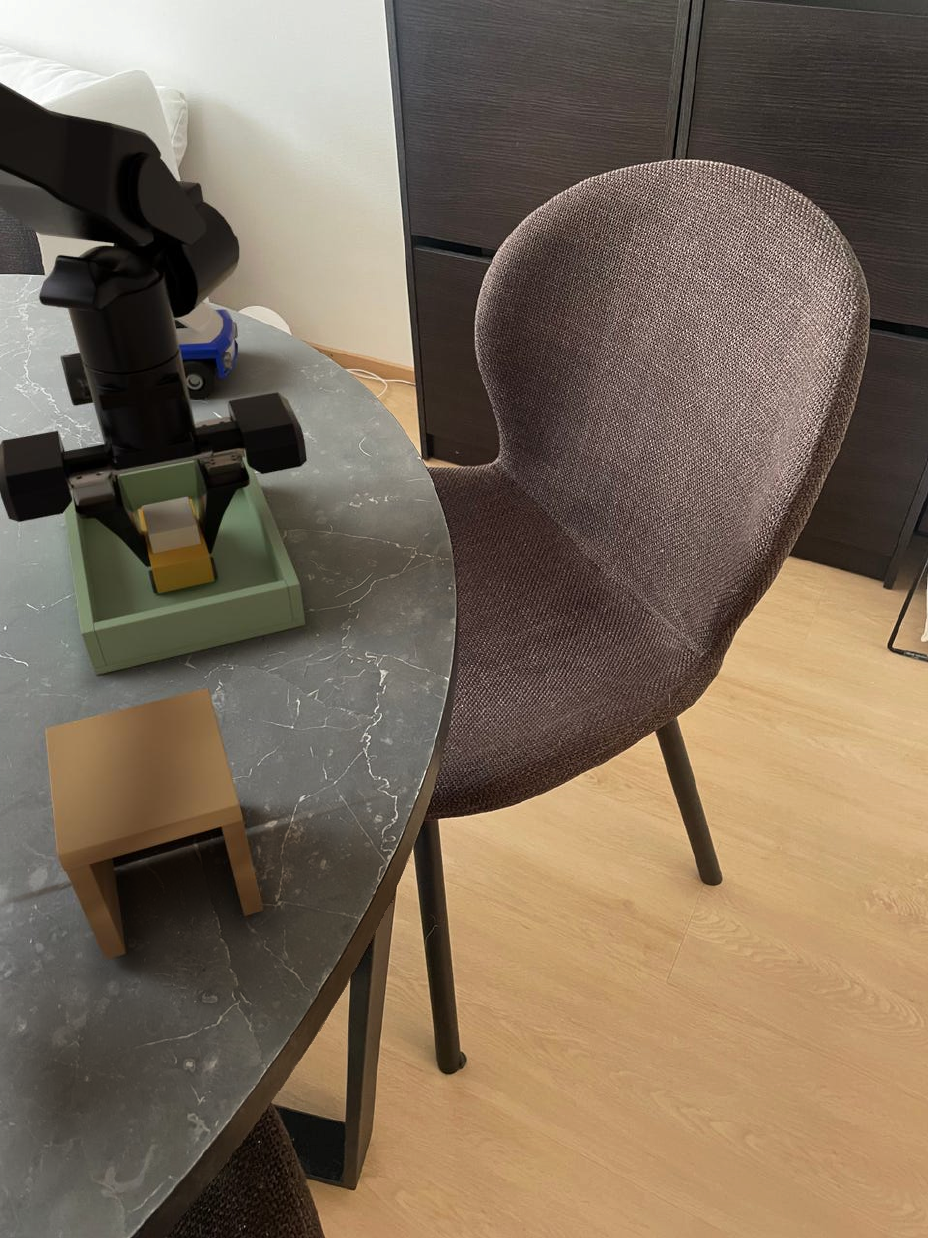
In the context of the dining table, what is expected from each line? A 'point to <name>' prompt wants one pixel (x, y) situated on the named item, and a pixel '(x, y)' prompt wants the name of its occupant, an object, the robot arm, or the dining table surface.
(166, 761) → the oak stand
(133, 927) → the dining table surface
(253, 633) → the green box
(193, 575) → the small car
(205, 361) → the toy car
